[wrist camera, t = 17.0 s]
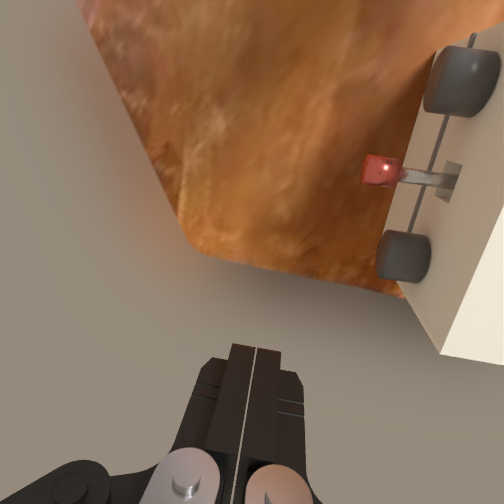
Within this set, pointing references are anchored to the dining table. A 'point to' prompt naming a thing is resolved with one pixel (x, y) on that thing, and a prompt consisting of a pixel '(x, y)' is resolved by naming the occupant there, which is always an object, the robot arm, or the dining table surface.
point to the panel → (460, 221)
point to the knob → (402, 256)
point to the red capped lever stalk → (401, 174)
